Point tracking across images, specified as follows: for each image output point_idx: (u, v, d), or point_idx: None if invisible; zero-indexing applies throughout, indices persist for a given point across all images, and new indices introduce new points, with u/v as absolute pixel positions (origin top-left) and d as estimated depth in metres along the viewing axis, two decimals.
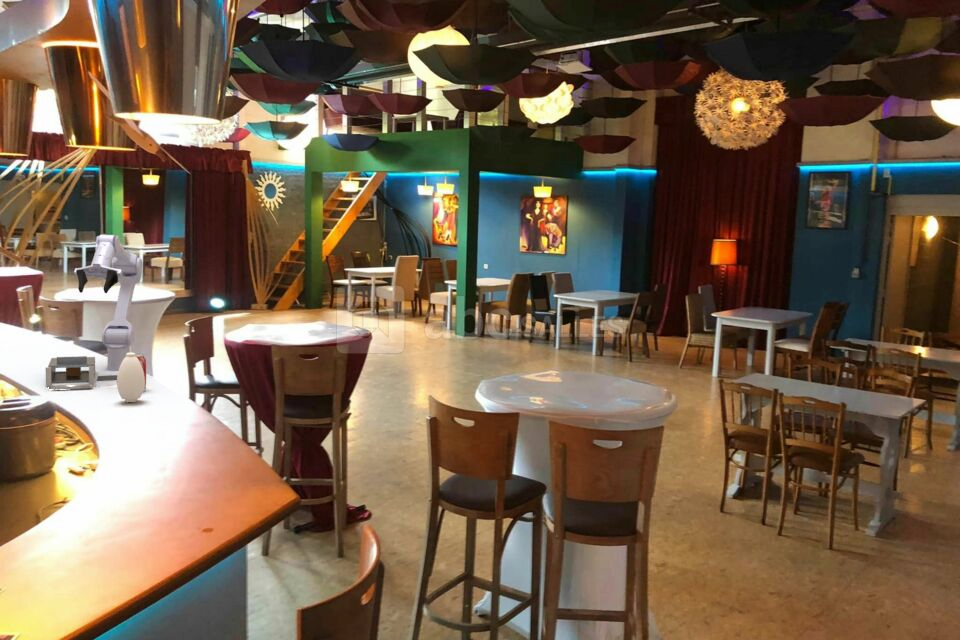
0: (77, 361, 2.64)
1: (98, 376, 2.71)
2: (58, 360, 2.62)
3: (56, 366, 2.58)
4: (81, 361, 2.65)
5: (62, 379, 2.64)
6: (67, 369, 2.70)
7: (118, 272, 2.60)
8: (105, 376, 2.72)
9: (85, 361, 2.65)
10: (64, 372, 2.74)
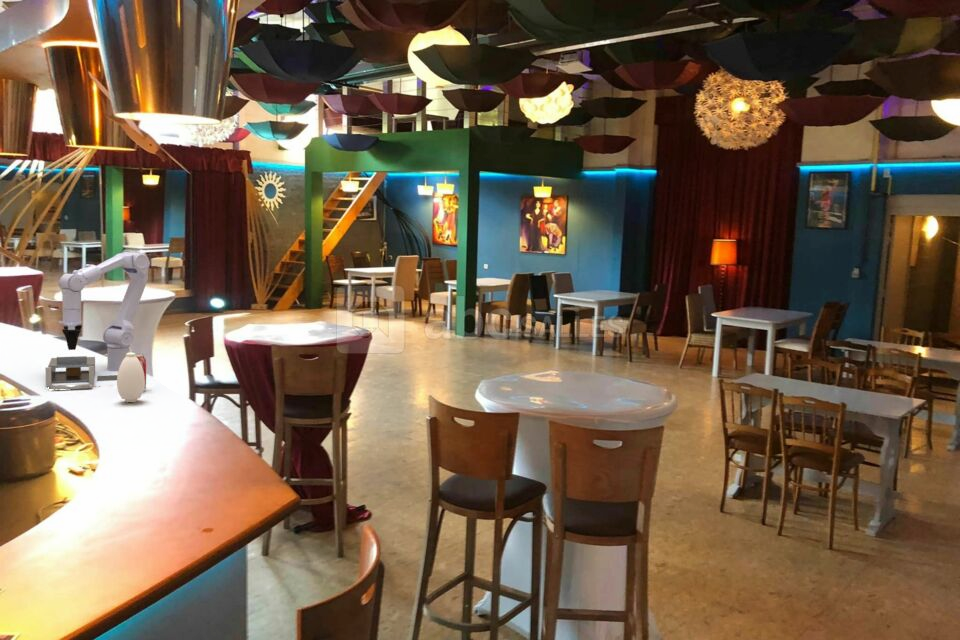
0: (77, 361, 2.64)
1: (98, 376, 2.71)
2: (58, 360, 2.62)
3: (56, 366, 2.58)
4: (81, 361, 2.65)
5: (62, 379, 2.64)
6: (67, 369, 2.70)
7: (68, 328, 2.62)
8: (105, 376, 2.72)
9: (85, 361, 2.65)
10: (64, 372, 2.74)
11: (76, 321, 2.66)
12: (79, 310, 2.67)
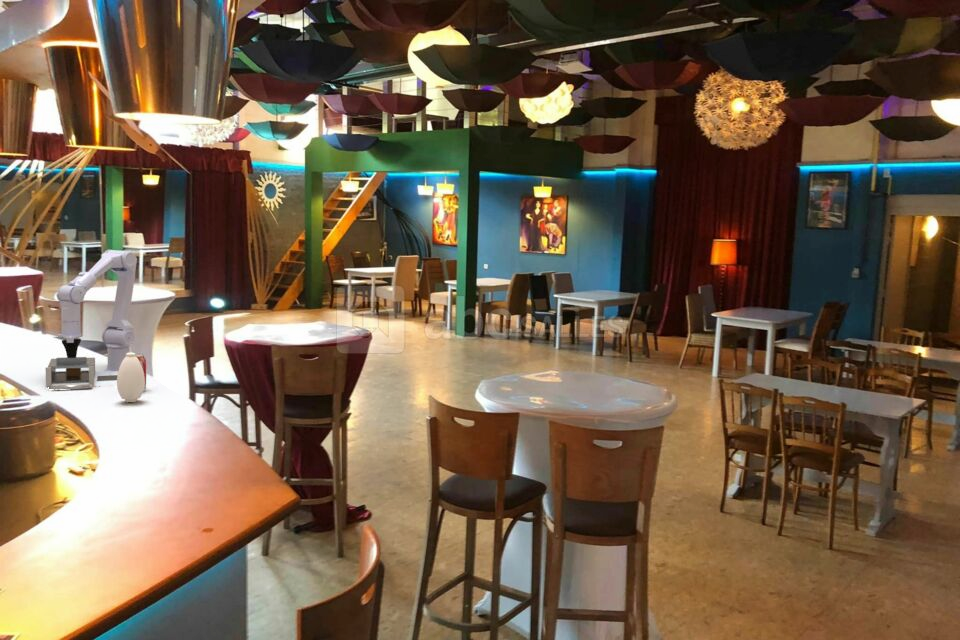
0: (77, 362, 2.63)
1: (98, 376, 2.71)
2: (58, 361, 2.60)
3: (56, 367, 2.57)
4: (81, 362, 2.63)
5: (62, 379, 2.64)
6: (67, 369, 2.70)
7: (66, 341, 2.57)
8: (105, 376, 2.72)
9: (85, 362, 2.64)
10: (64, 372, 2.74)
11: (75, 334, 2.61)
12: (78, 322, 2.62)
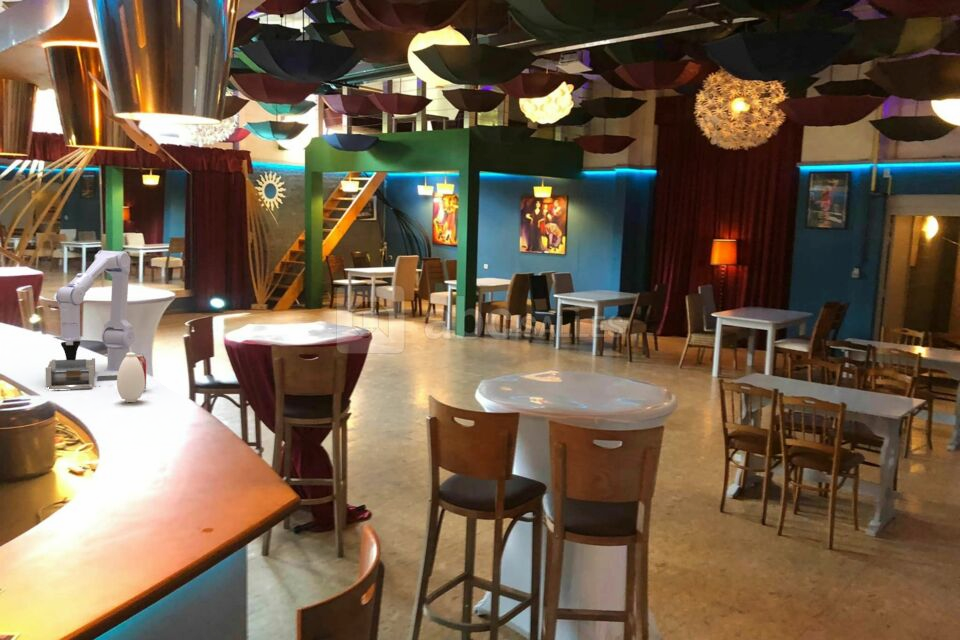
0: (76, 364, 2.59)
1: (98, 376, 2.71)
2: (57, 363, 2.56)
3: (55, 369, 2.53)
4: (80, 364, 2.59)
5: (62, 379, 2.64)
6: None
7: (66, 343, 2.53)
8: (105, 376, 2.72)
9: (84, 364, 2.60)
10: (64, 372, 2.74)
11: (74, 336, 2.57)
12: (78, 324, 2.58)
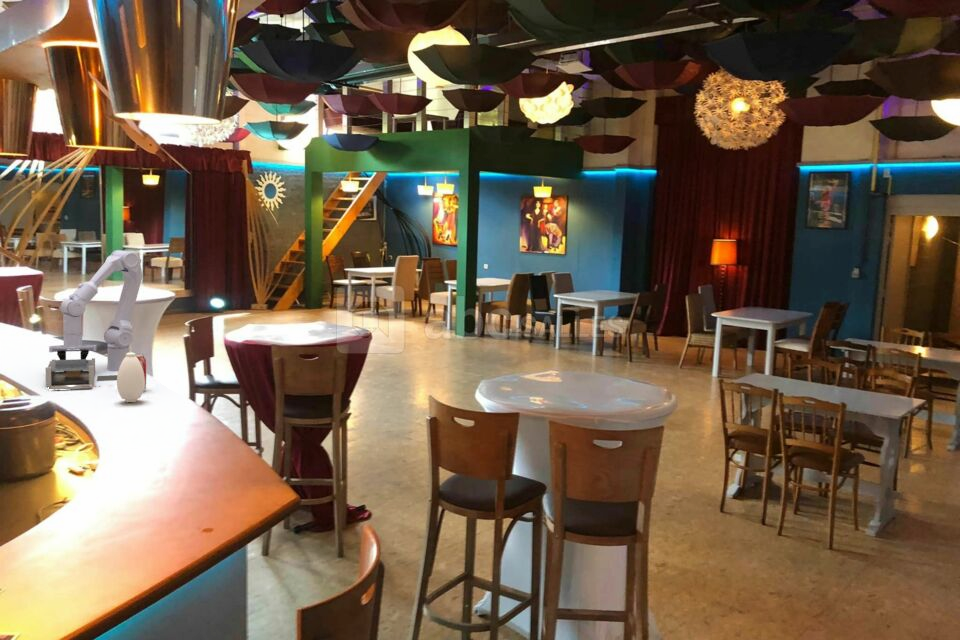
0: (76, 364, 2.59)
1: (98, 376, 2.71)
2: (57, 363, 2.56)
3: (55, 369, 2.53)
4: (80, 364, 2.59)
5: (62, 379, 2.64)
6: None
7: (94, 349, 2.73)
8: (105, 376, 2.72)
9: (84, 364, 2.60)
10: None
11: None
12: None
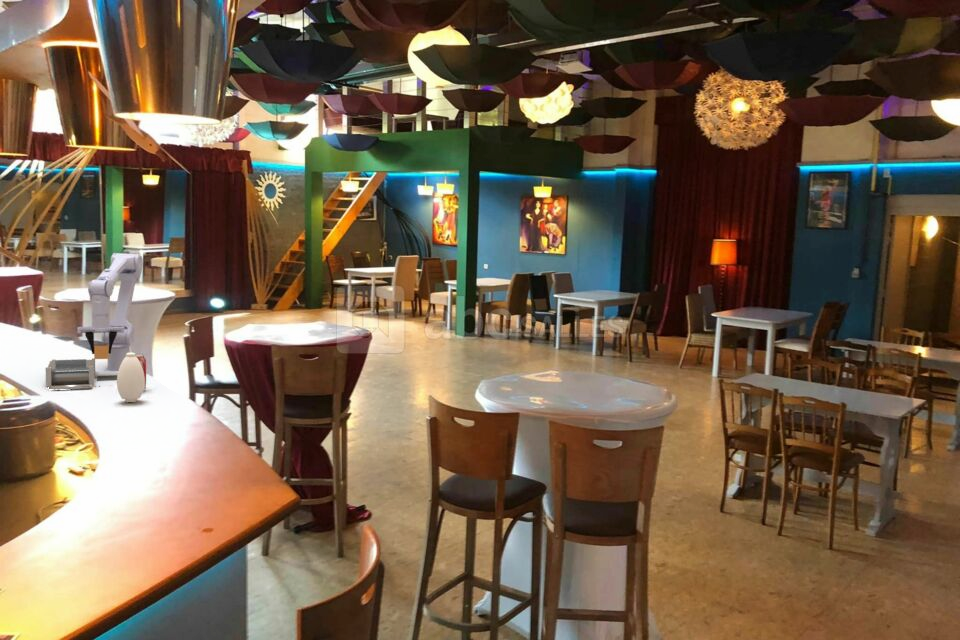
0: (76, 364, 2.59)
1: (98, 376, 2.71)
2: (57, 363, 2.56)
3: (55, 369, 2.53)
4: (80, 364, 2.59)
5: (62, 379, 2.64)
6: (95, 352, 2.67)
7: (122, 331, 2.71)
8: (105, 376, 2.72)
9: (84, 364, 2.60)
10: (64, 372, 2.74)
11: None
12: None
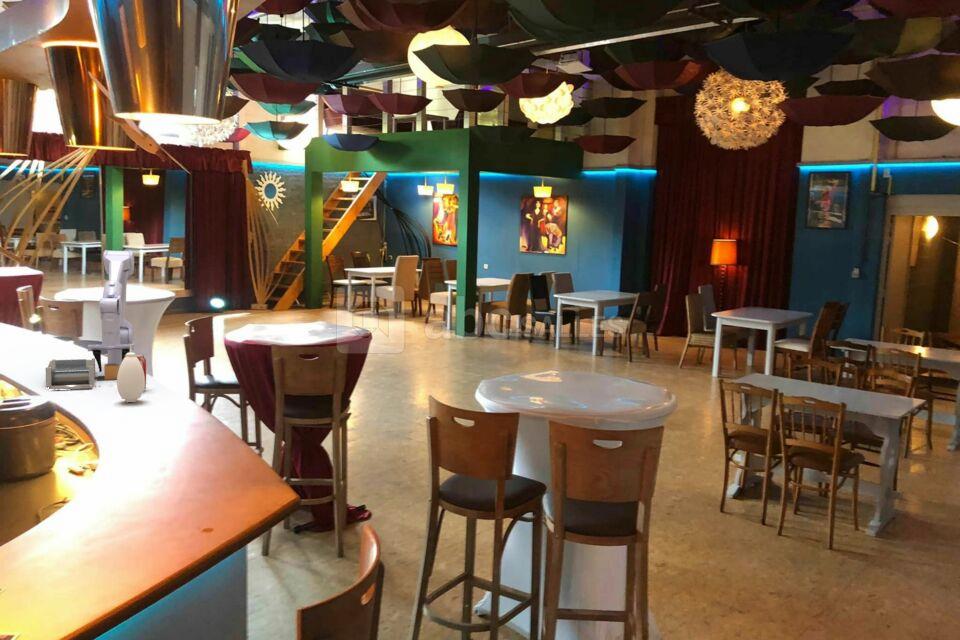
0: (76, 364, 2.59)
1: (98, 376, 2.71)
2: (57, 363, 2.56)
3: (55, 369, 2.53)
4: (80, 364, 2.59)
5: (62, 379, 2.64)
6: (105, 372, 2.67)
7: (132, 349, 2.71)
8: None
9: (84, 364, 2.60)
10: (64, 372, 2.74)
11: None
12: None
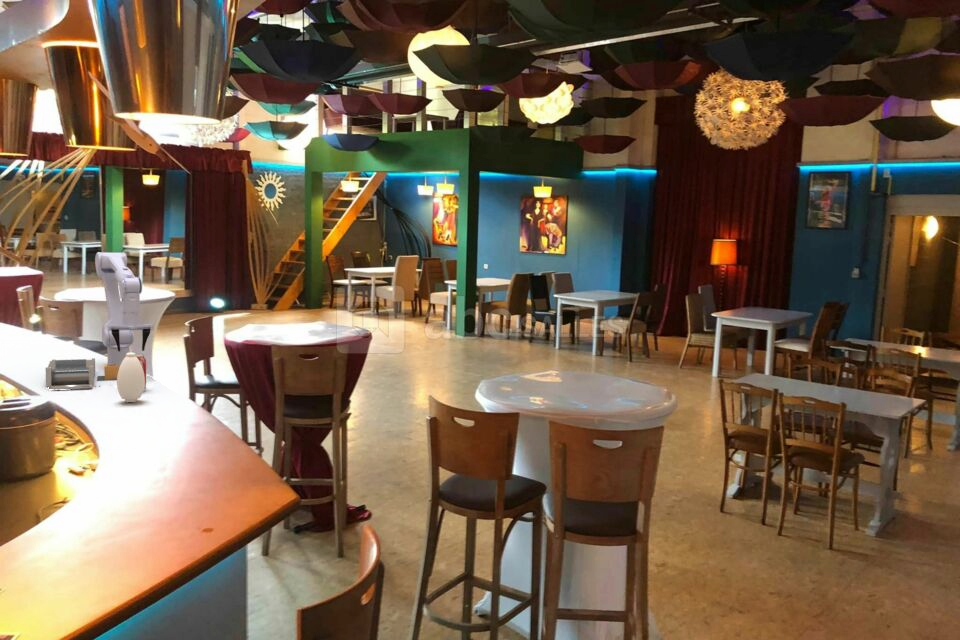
0: (76, 364, 2.59)
1: (98, 376, 2.71)
2: (57, 363, 2.56)
3: (55, 369, 2.53)
4: (80, 364, 2.59)
5: (62, 379, 2.64)
6: (105, 372, 2.67)
7: (151, 328, 2.73)
8: None
9: (84, 364, 2.60)
10: (64, 372, 2.74)
11: None
12: None
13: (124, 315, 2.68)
